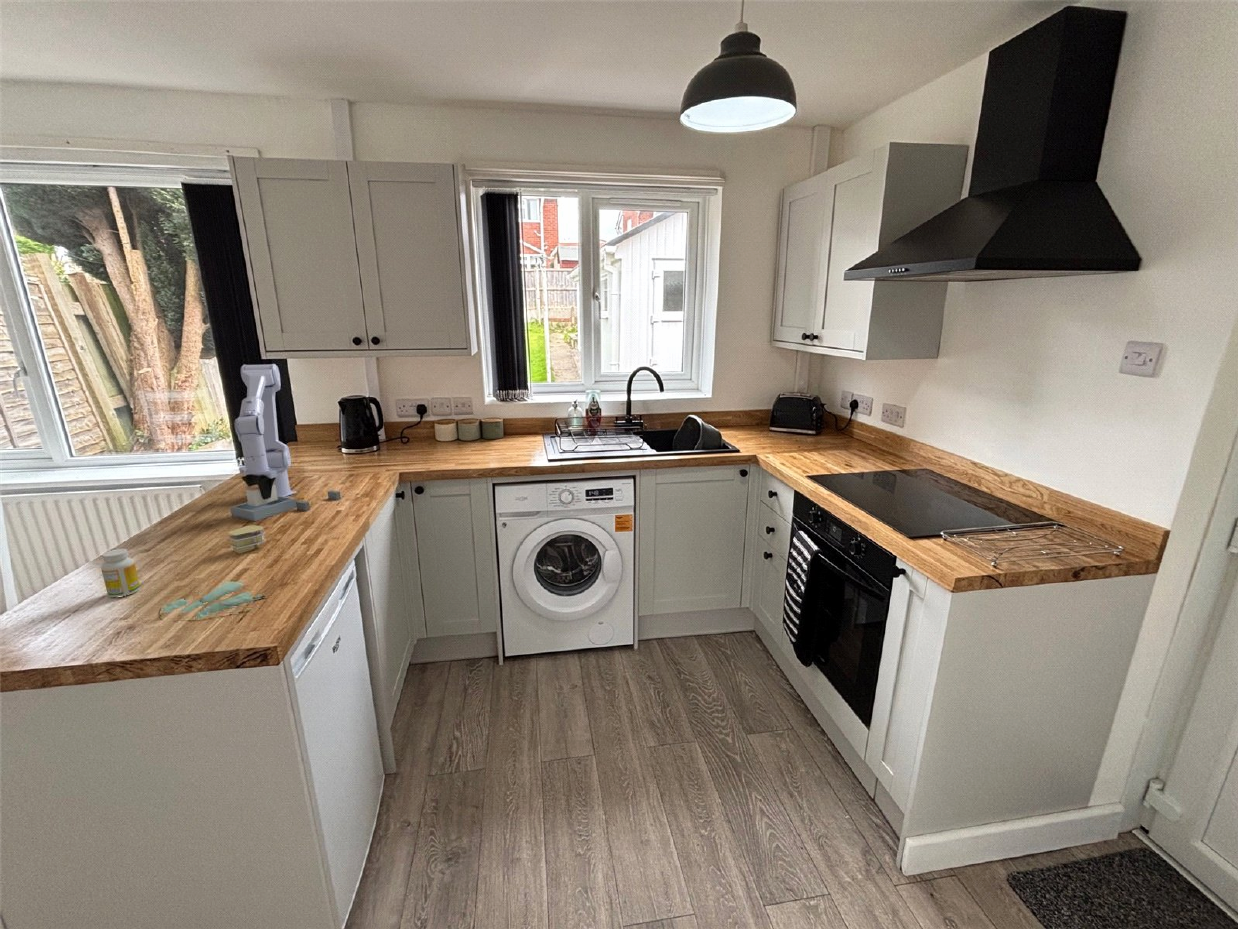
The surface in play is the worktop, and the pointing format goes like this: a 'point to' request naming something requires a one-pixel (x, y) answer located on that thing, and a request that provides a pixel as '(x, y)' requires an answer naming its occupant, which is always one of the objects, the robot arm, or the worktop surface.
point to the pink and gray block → (259, 495)
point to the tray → (263, 509)
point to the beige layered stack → (246, 538)
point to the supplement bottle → (119, 573)
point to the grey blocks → (305, 505)
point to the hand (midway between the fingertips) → (262, 497)
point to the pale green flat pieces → (214, 606)
